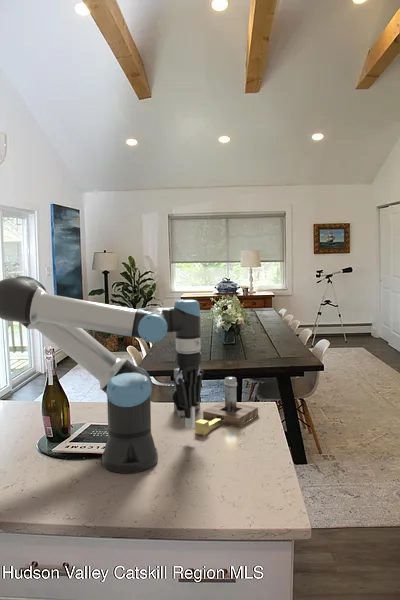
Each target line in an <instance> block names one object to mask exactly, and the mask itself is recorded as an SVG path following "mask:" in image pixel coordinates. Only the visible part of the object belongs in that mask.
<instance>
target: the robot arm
mask: <svg viewBox="0 0 400 600" xmlns="http://www.w3.org/2000/svg"><path fill="white" fill-rule="evenodd" d="M200 307H201V306H200V302H199V301H198V300H196V299H178V300H176V301H175V302H174V306H172V307H141V308H140V307H139V308H136V309H134V308H129V307H125V306H118V305H113V304H107V303H102V302H96V301H89V300H83V299H80V298H79V299H78V298H72V297H69V296H61V295H57V294H52V293H51V294H50V293H49V292H48V291H47V289H46V287H45V286H44V284H43V283H41V281H39V280H38V279H36V278H33V277H31V276H27V275H26V276H25V275H21V276H16V277H9V278H3V279H1V280H0V319H1V320H4V321H7V322H17V323H20V324H21V325H22V326H23V327H25V328H26V329H27V330H37V331H38V332H39V333H40V334H42V335H43V336H44V337H45V338H47V339H48V340H49V341H50V342H51V343H53V344H54V346H56V347H58V348H59V349H60V350H62V352H64V354H65V355H67V356H69V358H71V359H72V360H73V361H75V363H77V364H78V365H79V366H80V367H82V368H83V369H84V370H86V372H88V373H89V374H90V375H91V376H93V378H95V379H96V380H98V381H99V389H100V390H101V391H103V393H105V394H106V398H107V399H106V400H107V401H106V402H107V432H108V433H107V434H108V435H107V439H106V441H105V445H104V450H103V453H102V456H101V458H102V460H101V462H102V466H103V468H104V469H106V470H108V471H110V472H113V473H116V474H117V473H118V474H119V473H120V474H132V473H134V474H135V473H139V472H143V471H146V470H149V469H152V468H153V467H154V466H155V465H156V464H158V461H159V452H158V449H157V447H156V445H155V441H154V438H153V435H152V422H151V421H152V420H151V419H152V418H151V416H152V415H151V409H152V408H151V403H152V401H151V400H152V394H153V390H154V387H153V381H152V377H151V376H150V374H149V373H148V372H147V371H146V370H145V369H144V368H143V367H140V366H138V365H134V364H133V363H132V362H131V361H130V360H129V359H128V358H118V357H117V356H116V355H114V353H112V352H111V351H110V350H109V349H107V347H105V346H104V345H102V344H101V343H100V342H99V341H98V340H97V339H95V338H94V337H93V336H92V335H91V334H90V333H88V331H89V330H90V331H95V332H102V333H109V334H115V335H119V336H125V337H132V338H135V339H142V340H143V341H145V342H147V343H150V344H151V343H152V344H154V343H157V342H158V343H159V342H160V341H161V340H162V339H163V338H164V337H165V336H166V334H167V333H175V351H176V353H175V359H176V360H175V363H176V365H178V368H179V372H178V373H179V375H178V377H177V378H174V377H173V379H172V381H173V384H174V383H175V385H176V390H177V395H178V401H179V406H181V407H184V423H185V424H184V425H185V426H184V427H185V428H187V429H190V430H191V429H192V430H193V429H195V422H196V409H195V406H198V405H199V404H197V402H199V401H200V402H201V393H202V384H203V383H202V382H203V377H204V373H205V371H204V369H203V370H202V369H201V368H200V369H199V367H200V366H199V365H201V363H202V353H201V349H202V348H201V344H202V343H201V342H202V341H201V309H200ZM86 330H88V331H86ZM196 397H197V398H196Z"/></svg>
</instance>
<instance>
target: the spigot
mask: <svg viewBox="0 0 400 600" xmlns="http://www.w3.org/2000/svg"><path fill="white" fill-rule="evenodd" d="M223 386H224V401H225V411H226V412H231V413H235V412H236V403H237V386H238V382H237V377H235V376H226V377H224V382H223Z"/></svg>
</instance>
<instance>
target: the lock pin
mask: <svg viewBox="0 0 400 600" xmlns="http://www.w3.org/2000/svg"><path fill="white" fill-rule="evenodd" d="M222 424H223V419H221V418H215V419H214V420H212V421H207V420H203V418H202V419H201V418H200V419H198V420H195V428H194V431H195V434H196V435H200V436H202V437H203V436H206V435H208V434H209V433H210V431H212V430H214V429H215V428H217V427H220V426H222Z"/></svg>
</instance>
